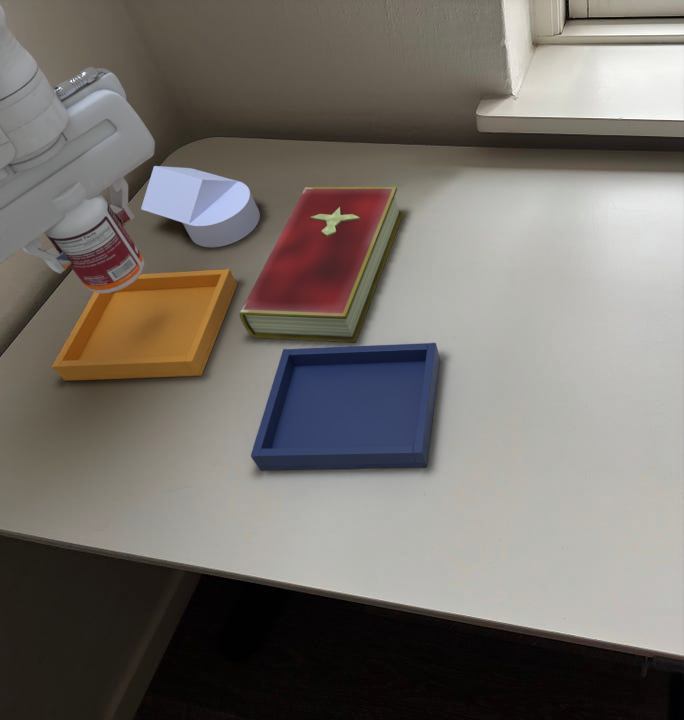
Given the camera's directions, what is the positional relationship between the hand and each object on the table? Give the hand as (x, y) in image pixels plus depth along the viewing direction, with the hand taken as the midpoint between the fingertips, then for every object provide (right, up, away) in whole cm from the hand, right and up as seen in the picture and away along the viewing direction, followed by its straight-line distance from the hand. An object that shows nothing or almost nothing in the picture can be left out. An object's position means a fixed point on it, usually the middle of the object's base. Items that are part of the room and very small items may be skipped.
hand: (94, 244), depth 70 cm
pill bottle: (+1, -3, +3) cm, 4 cm away
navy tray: (+26, -16, -1) cm, 30 cm away
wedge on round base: (+4, +6, +22) cm, 23 cm away
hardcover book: (+21, -1, +12) cm, 24 cm away
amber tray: (+1, -8, +10) cm, 13 cm away
